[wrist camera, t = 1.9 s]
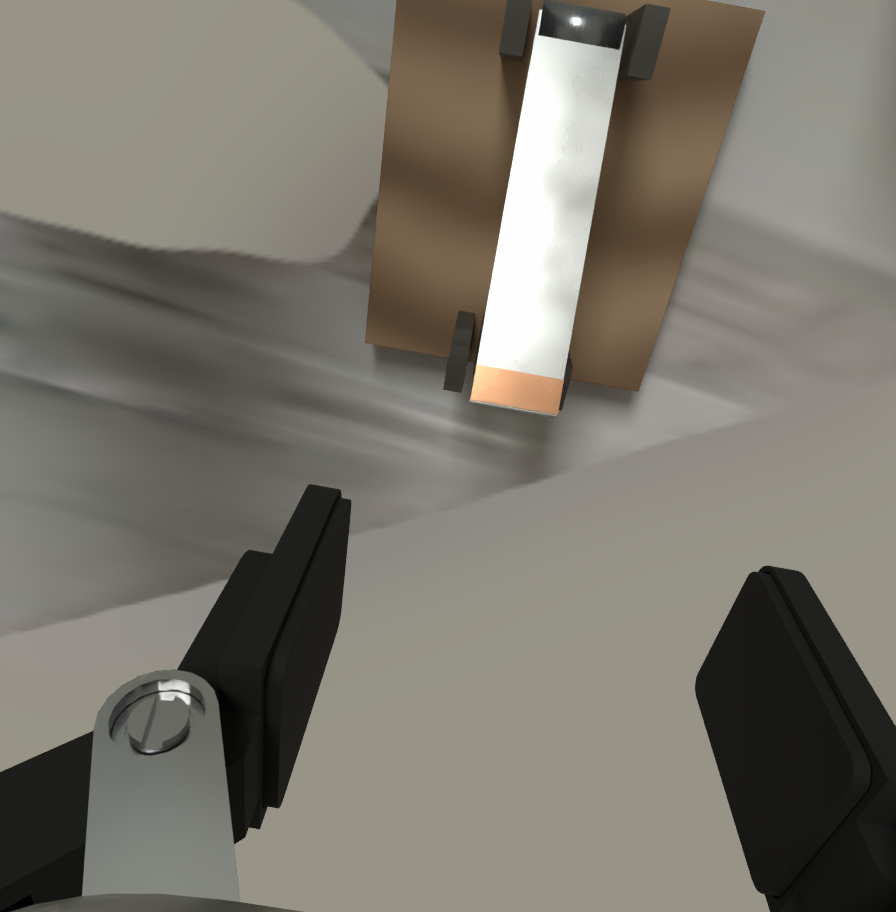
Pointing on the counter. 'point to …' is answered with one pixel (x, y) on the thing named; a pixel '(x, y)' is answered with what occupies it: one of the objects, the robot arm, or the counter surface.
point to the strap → (548, 208)
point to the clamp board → (489, 163)
